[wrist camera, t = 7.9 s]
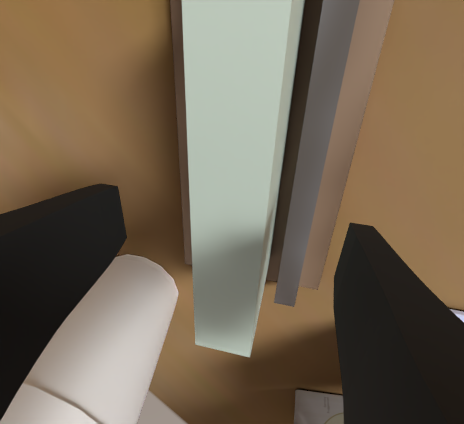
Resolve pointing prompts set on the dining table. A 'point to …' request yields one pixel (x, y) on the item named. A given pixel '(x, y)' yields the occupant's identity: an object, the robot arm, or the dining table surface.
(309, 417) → the coffee box
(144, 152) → the dining table surface
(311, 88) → the bottom track
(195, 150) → the door panel
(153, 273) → the foam cup
